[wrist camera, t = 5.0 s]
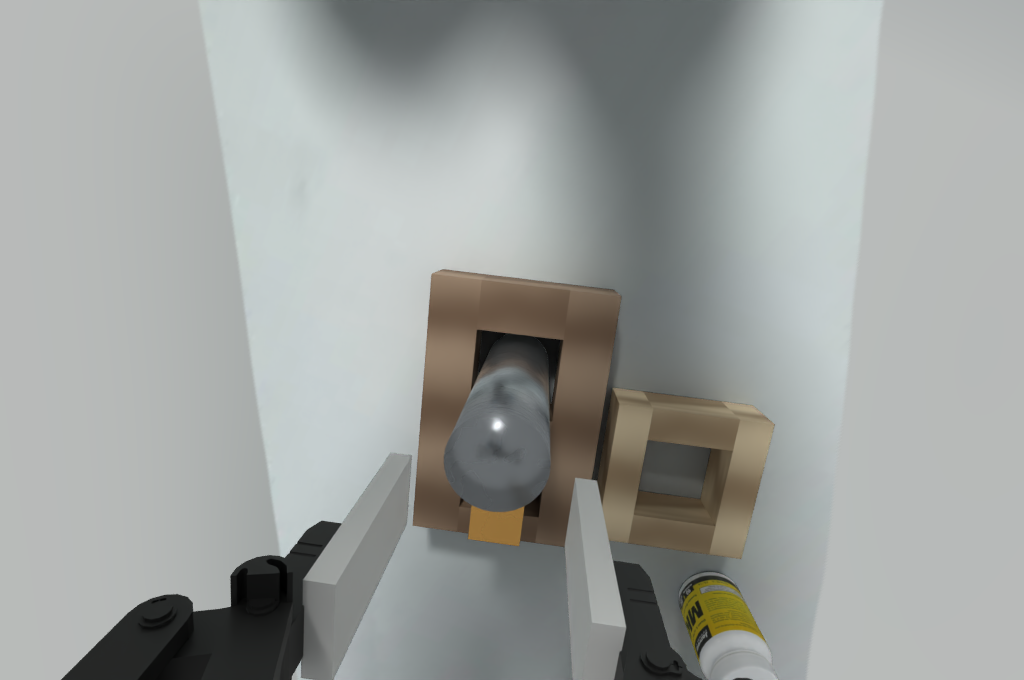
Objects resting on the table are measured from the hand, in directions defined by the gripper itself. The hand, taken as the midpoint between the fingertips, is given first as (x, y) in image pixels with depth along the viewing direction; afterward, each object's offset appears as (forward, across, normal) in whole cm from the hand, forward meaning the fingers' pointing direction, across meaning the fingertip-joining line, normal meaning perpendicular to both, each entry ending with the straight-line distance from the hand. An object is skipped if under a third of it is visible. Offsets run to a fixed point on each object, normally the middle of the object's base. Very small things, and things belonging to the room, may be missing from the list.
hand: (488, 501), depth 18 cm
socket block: (+19, 0, -3) cm, 19 cm away
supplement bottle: (+19, +17, -17) cm, 31 cm away
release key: (+18, 0, -8) cm, 20 cm away
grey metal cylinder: (+19, 0, 0) cm, 19 cm away
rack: (+19, +12, -6) cm, 23 cm away
